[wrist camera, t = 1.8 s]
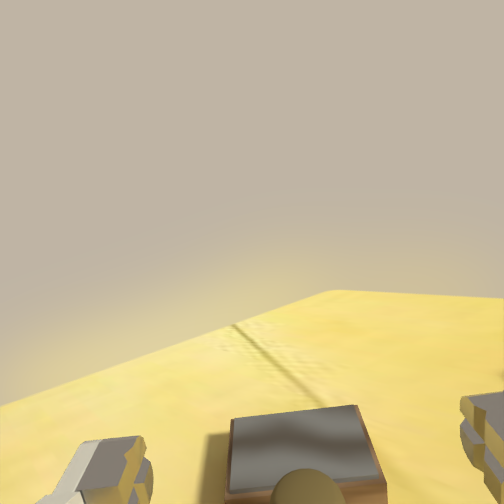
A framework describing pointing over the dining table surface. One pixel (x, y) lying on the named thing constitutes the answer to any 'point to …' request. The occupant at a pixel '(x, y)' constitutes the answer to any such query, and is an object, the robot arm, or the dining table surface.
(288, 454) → the walnut riser
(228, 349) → the dining table surface
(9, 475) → the dining table surface
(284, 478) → the brown chess pawn
